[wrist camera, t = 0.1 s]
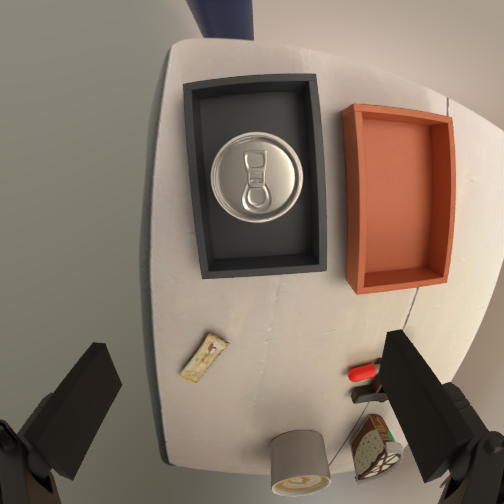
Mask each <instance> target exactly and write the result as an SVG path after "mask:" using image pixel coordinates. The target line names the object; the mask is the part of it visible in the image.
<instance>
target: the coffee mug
mask: <svg viewBox="0 0 504 504" xmlns="http://www.w3.org/2000/svg"><path fill="white" fill-rule="evenodd" d="M270 452H271V489H272V491H273V492H274V493H276V494H278V495H282V496H304V495H310V494H313V493H317V492H319V491H322V490H323V489H325V488H327V487H328V486H329V485H330V483H331V477H330V472H329V466H328V461H327V456H326V450H325V445H324V440H323V437H322V435H320V434H319V433H317V432H314V431H310V430H296V431H291V432H287V433H284V434H282V435H279V436H278V437H276V438H275V439H274V440H273V441H272V442H271V445H270Z"/></svg>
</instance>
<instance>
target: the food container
mask: <svg viewBox="0 0 504 504" xmlns="http://www.w3.org/2000/svg"><path fill="white" fill-rule="evenodd" d="M350 446H351V451H352V456H353V462H354V467H355V472H356V477H355V479H356V482H357V483H358V484H361V483H366V482H369V481H372V480H375V479H378V478H380V477H382V476H384V475H386V474H388V473H389V472H391V471H392V470H393V469H395V468H396V467H397V466H398V465H399V464H400V463H401V461H402V459H403V447H402V445H401V444H400V443H398V442H395V440H394V438H393V436H392V434H391V432H390V431H389V429H388V427H387V425H386V423H385V421H384V420H383V418H382V417H381V416H379V415H376V414H369V416H368V417H367V419H366V420H365V422H364V423H363V425H362V426H361V428H360V429H359V431H358V432H357V434H356V435H355V436H354V438H353V439H352V441H351V442H350Z"/></svg>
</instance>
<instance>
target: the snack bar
mask: <svg viewBox="0 0 504 504" xmlns="http://www.w3.org/2000/svg"><path fill="white" fill-rule="evenodd" d="M227 343H228V342H227V341H224V342H223V341H222V339H221V338H220V339H219V337H217V336H216V335H215V334H213V333H211V334H210V333H209V334H208V335H207V337H206V340H205V341H204V343H203V344H202V346H201V347H200V349H199V350H198V351H197V353H196V354H195V355H194V357H193V358H192V359H191V360H190V362H189V363H188V364H187V366H186V367H185V368H184V369H183V371H182V372H181V373H180V377H182V378H185V379H186V380H190V381H192V382H194V383H197V382H198V381H199V379H200V378H201V377H202V376H203V374H204V373H205V371H206V370H207V369H208V368H209V367H210V365H211V364H212V363H213V362H214V361H215V360H216V358H217V357H218V356H219V355H220V353H221V352H222V351H223V350H224V349H225V348H226V347H227V346H228V344H230V343H228V344H227Z"/></svg>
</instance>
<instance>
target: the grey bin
mask: <svg viewBox="0 0 504 504" xmlns="http://www.w3.org/2000/svg"><path fill="white" fill-rule="evenodd" d="M183 91H184V111H185V127H186V141H187V154H188V165H189V176H190V186H191V196H192V205H193V214H194V223H195V231H196V239H197V247H198V254H199V261H200V269H201V275H202V279H215V278H233V277H250V276H266V275H281V274H295V273H309V272H322V271H327V214H326V184H325V165H324V150H323V136H322V124H321V114H320V104H319V95H318V86H317V78H316V74H265V75H249V76H238V77H228V78H219V79H211V80H204V81H198V82H192V83H186V84H183ZM250 132H263V133H268V134H272V135H274V136H277V137H279V138H280V139H282V140H283V141H285V142H286V143H287V144H288V145H289V146H290V147H291V148H292V149H293V150H294V151H295V153H296V154H297V156H298V158H299V160H300V163H301V167H302V172H303V183H302V188H301V192H300V194H299V197H298V198H297V200H296V202H295V203H294V205H293V206H292V207H291V208H290V209H289V210H288V211H287V212H286V213H284V214H283V215H281V216H280V217H278V218H276V219H273V220H270V221H266V222H248V221H244V220H241V219H238V218H236V217H234V216H232V215H231V214H229V213H228V212H227V211H226V210H225V209H224V208H223V207H222V206H221V205H220V204H219V202H218V201H217V199H216V197H215V195H214V192H213V189H212V185H211V169H212V165H213V162H214V159H215V157H216V155H217V154H218V152H219V151H220V149H221V148H222V147H223V146H224V145H225V144H226V143H227V142H229V141H230V140H231V139H233V138H235V137H237V136H239V135H242V134H245V133H250Z"/></svg>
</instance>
